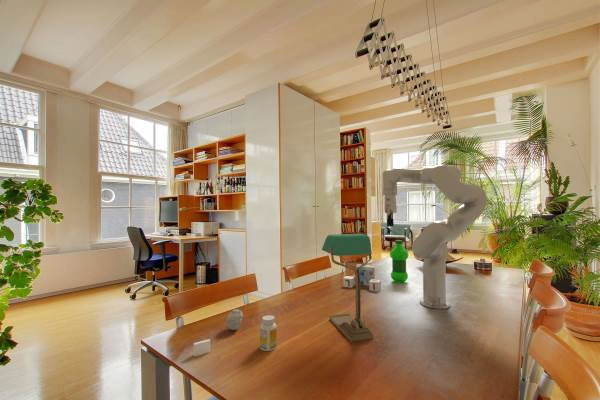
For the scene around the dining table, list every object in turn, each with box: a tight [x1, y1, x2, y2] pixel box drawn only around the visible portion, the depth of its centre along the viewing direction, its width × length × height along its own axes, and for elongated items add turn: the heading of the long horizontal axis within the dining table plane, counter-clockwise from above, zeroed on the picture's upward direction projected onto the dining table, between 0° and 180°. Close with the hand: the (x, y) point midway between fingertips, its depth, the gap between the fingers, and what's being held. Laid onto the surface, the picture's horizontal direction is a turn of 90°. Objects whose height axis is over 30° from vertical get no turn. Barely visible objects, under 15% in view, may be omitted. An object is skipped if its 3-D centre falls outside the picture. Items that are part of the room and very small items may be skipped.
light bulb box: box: [355, 263, 376, 287], centre depth 166 cm, size 11×7×11 cm, turn 73°
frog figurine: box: [224, 308, 244, 331], centre depth 104 cm, size 6×7×7 cm
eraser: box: [193, 338, 212, 357], centre depth 87 cm, size 1×5×4 cm, turn 124°
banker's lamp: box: [321, 233, 374, 342], centre depth 106 cm, size 16×21×35 cm
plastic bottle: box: [389, 239, 409, 284], centre depth 170 cm, size 10×10×25 cm
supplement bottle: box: [259, 314, 278, 352], centre depth 91 cm, size 5×5×10 cm
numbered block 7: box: [342, 275, 356, 288], centre depth 161 cm, size 5×5×5 cm
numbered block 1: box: [368, 279, 382, 293], centre depth 154 cm, size 5×5×5 cm
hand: (390, 226), depth 152 cm, fingers closed
